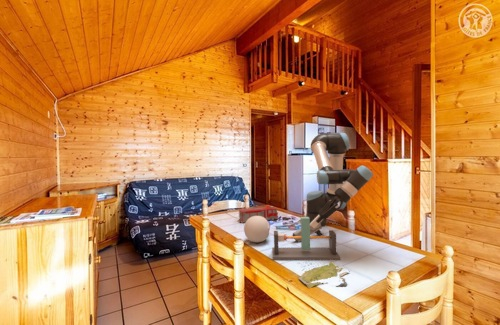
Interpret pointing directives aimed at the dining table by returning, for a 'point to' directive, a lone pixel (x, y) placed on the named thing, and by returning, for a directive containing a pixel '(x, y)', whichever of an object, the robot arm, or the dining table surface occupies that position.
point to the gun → (311, 230)
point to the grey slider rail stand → (300, 254)
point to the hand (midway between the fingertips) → (311, 226)
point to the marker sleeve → (305, 233)
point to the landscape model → (322, 275)
